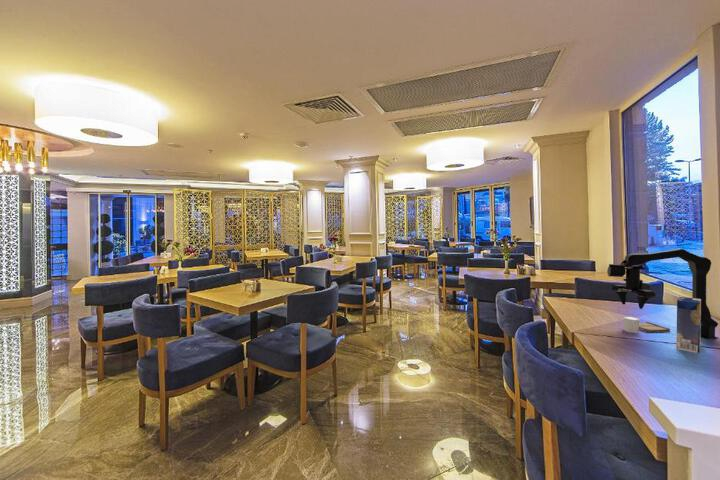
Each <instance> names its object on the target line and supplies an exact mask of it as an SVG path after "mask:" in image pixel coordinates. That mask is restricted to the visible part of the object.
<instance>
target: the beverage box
mask: <svg viewBox="0 0 720 480" xmlns="http://www.w3.org/2000/svg"><path fill="white" fill-rule="evenodd" d="M701 340H702V338H701V299H697V298H692V297H685V296H678V298H677V300H676V347H675V348H676V350H681V351H685V352H689V353H695V354H700V353H701V352H700V351H701V342H702V341H701Z"/></svg>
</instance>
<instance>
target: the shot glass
mask: <svg viewBox="0 0 720 480" xmlns="http://www.w3.org/2000/svg"><path fill="white" fill-rule="evenodd" d="M640 322H641V321H640V318H638V317H634V316H622V325H623V331H624V332H626V333H632V334H638V333H639V330H638V329H639V323H640Z"/></svg>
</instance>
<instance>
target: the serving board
mask: <svg viewBox="0 0 720 480" xmlns="http://www.w3.org/2000/svg"><path fill="white" fill-rule="evenodd" d="M638 331H642V332H645V333H670V332H671V328H669V327H665V326H662V325H661V324H657V323H653V322H650V321H645V322H639V329H638Z"/></svg>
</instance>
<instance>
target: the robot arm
mask: <svg viewBox="0 0 720 480" xmlns="http://www.w3.org/2000/svg"><path fill="white" fill-rule="evenodd" d="M674 258H678V259H681V260H682V261H684V262H687V265H688V268H689V270H690V272H691V275H692V277H691V278H692V280H691V281H692V290H691V293H692V295H691V296H692V297H691V298H697V299H701V339H706V340H707V339H708V340H710V339H711V340H713V339H719V337H717V336H716V328H717V327H718V325H719V323H718V322H717V321H716V320H714V318H712V315H711V312H710V308H709V307H708V305H707V274H708V273H709V272H710V270H711V267H712V261H711V259H709V257H704V256H699V255H697V254H694V253H693V252H690V251H688V250H685V249H683V248H675V249H670V250H669V249H668V250H664V251H663V250H662V251H656V252H649V253H628V254H626V255H625V257H624V259H623V261H621V262H620V264H615V263H609V264H608V267H607V269H606V271H607V276H608V277H611V278H615V277H617V278H622V277H624V276H625V278H623V281H624V282H625V284H624V285H623V284H613V285H612V287H611V290H612V291H613V292H614V293H615V294H616V295H617V297H618V299H619V300H620V302H621V303H622V305H626V303H627V302H626V299H627V293H629V292H630V293H633V294H634V293H635V294H637V296H636V298H637V302H638V307H639V310H643V308H644V306H645V304H646V303H647V301H648V300H649V299H652V298H656V292H655V291H654V290H650V289H651V285H650V284H647V283H644V282H643V281H644V280H643V279H641V270H642V271H643V270H644V271H646V268H645V267H644V266H643V264H647V263H648V262H652V261H653V262H654V261H659V260H666V259H674Z"/></svg>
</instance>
